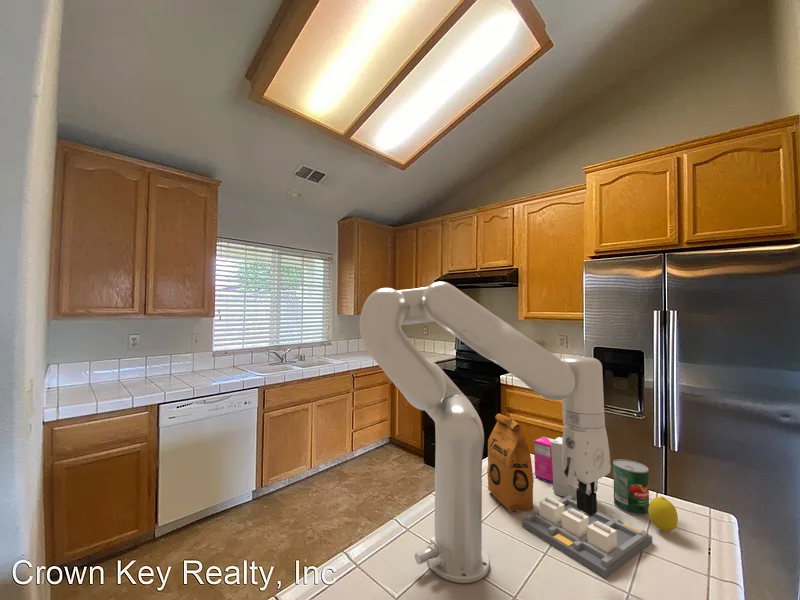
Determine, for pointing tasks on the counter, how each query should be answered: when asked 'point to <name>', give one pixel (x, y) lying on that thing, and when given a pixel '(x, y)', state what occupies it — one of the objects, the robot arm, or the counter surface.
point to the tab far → (551, 510)
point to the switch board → (583, 552)
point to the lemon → (663, 514)
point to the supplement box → (543, 459)
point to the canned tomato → (631, 487)
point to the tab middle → (575, 522)
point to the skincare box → (560, 471)
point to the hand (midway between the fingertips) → (586, 510)
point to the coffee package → (510, 465)
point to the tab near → (602, 537)
